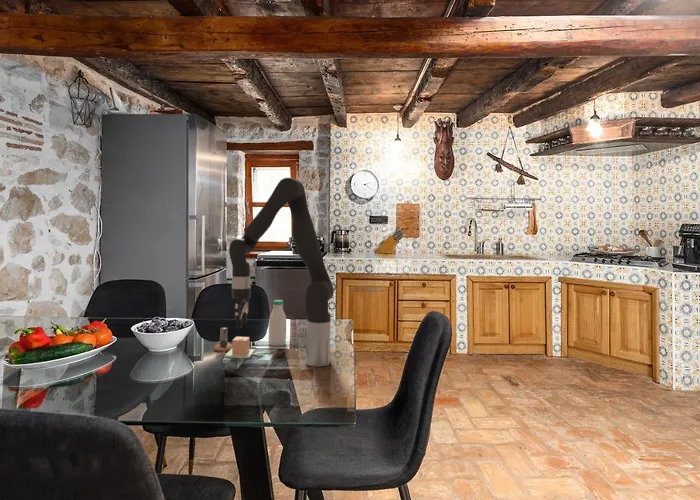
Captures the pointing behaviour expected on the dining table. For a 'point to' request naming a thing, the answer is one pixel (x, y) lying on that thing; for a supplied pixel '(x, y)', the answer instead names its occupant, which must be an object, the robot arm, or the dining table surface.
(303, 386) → the dining table surface
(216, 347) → the post
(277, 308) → the milk bottle
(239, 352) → the salmon orange cube
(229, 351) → the pad
